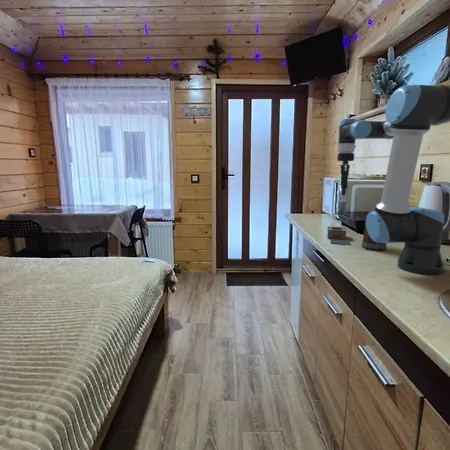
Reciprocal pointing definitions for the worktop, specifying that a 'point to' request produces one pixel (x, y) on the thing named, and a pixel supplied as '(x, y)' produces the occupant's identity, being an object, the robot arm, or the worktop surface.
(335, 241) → the mat
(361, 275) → the worktop surface
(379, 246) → the mug
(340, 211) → the peg
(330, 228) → the block
